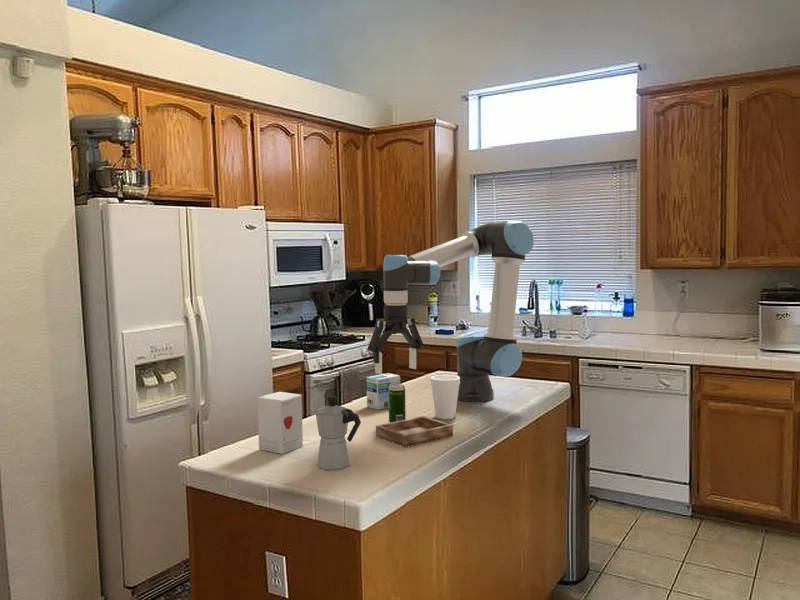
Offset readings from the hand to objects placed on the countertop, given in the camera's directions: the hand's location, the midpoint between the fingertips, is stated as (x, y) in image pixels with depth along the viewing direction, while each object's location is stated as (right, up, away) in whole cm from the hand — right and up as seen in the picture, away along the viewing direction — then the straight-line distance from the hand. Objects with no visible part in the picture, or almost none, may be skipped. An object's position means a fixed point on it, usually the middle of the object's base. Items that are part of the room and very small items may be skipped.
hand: (396, 371), depth 208 cm
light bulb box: (-5, -15, +24) cm, 29 cm away
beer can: (0, -17, +1) cm, 17 cm away
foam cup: (+16, -16, +9) cm, 25 cm away
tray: (+6, -18, -13) cm, 23 cm away
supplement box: (-32, -19, -23) cm, 44 cm away
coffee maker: (-15, -20, -39) cm, 47 cm away
